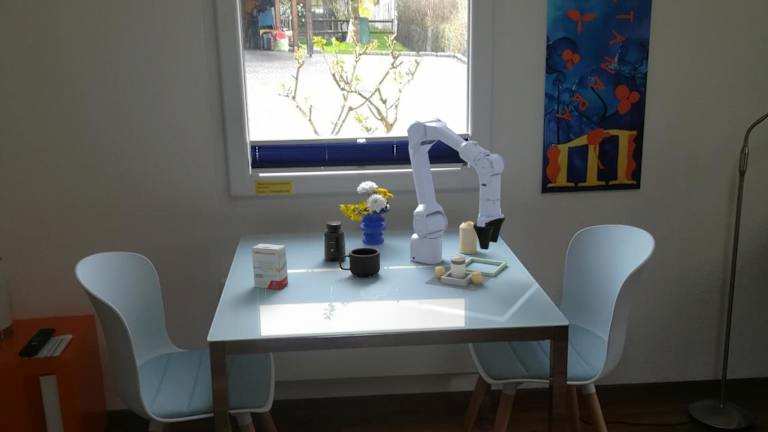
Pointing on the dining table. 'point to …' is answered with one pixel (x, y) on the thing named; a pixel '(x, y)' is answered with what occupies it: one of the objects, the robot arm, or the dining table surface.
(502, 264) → the parts tray
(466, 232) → the candle
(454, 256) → the cylinder
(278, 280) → the ink box
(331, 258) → the supplement bottle
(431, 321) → the dining table surface
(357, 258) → the mug
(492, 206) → the robot arm
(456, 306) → the dining table surface
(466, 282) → the fuse panel
